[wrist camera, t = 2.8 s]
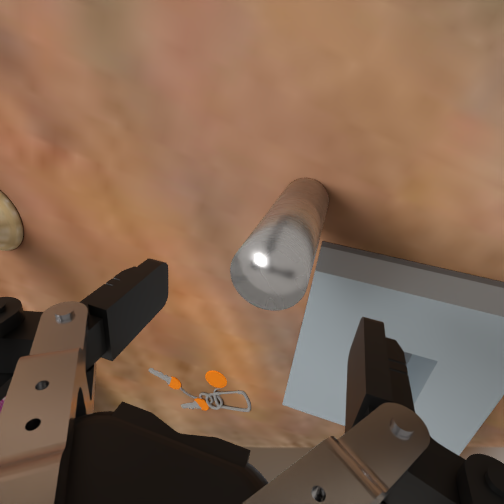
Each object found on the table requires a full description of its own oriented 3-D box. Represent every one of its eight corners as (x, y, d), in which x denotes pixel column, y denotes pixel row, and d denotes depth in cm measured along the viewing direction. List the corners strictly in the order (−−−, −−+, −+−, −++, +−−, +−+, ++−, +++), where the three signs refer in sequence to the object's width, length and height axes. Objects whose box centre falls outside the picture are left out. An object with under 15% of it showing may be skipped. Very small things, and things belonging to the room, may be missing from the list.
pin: (286, 173, 24) (233, 232, 14) (333, 182, 23) (315, 252, 13) (279, 217, 26) (227, 299, 16) (323, 226, 25) (299, 319, 15)
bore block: (322, 241, 26) (315, 270, 21) (516, 284, 23) (552, 329, 19) (292, 363, 32) (282, 404, 28) (439, 409, 29) (453, 462, 25)
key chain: (241, 368, 35) (239, 374, 35) (255, 414, 38) (253, 421, 37) (147, 363, 40) (143, 368, 39) (166, 405, 42) (163, 410, 42)
